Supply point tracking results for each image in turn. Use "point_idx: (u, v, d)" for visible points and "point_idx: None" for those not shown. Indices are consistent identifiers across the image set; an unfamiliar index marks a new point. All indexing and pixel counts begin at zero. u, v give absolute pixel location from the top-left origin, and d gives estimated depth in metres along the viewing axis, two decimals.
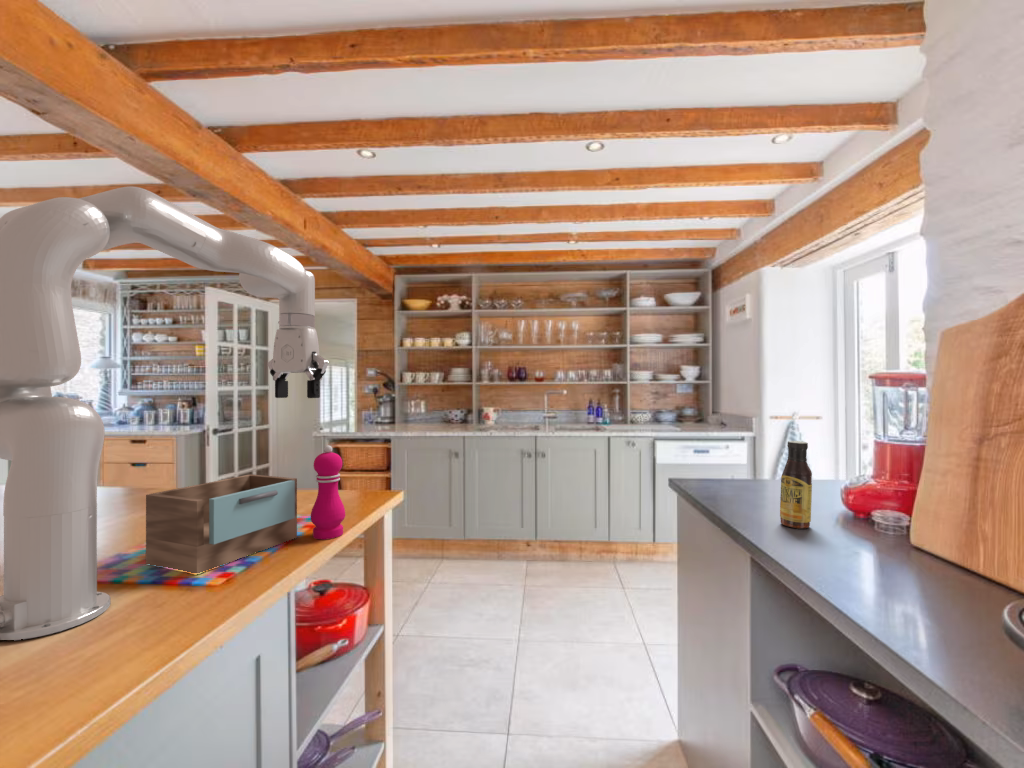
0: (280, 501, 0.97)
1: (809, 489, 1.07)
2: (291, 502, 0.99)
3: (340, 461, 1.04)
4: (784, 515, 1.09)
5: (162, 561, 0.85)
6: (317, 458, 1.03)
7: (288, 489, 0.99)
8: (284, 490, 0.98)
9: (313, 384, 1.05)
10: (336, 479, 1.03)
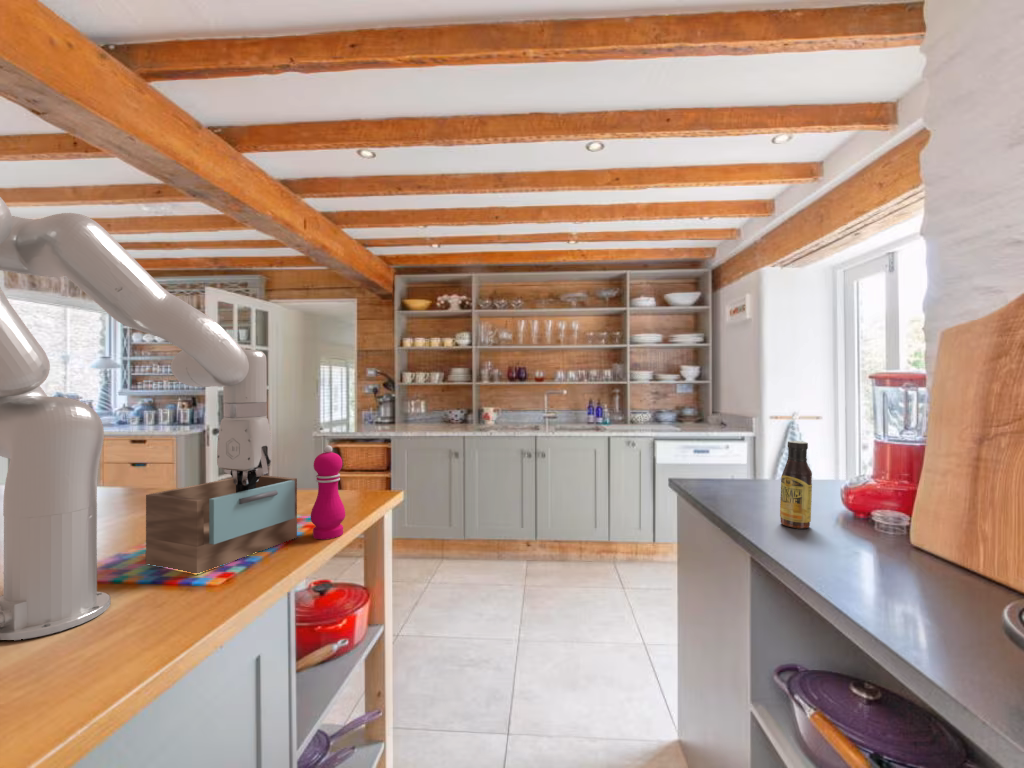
0: (280, 501, 0.97)
1: (809, 489, 1.07)
2: (291, 502, 0.99)
3: (340, 461, 1.04)
4: (784, 515, 1.09)
5: (162, 561, 0.85)
6: (317, 458, 1.03)
7: (288, 489, 0.99)
8: (284, 490, 0.98)
9: (247, 489, 0.92)
10: (336, 479, 1.03)
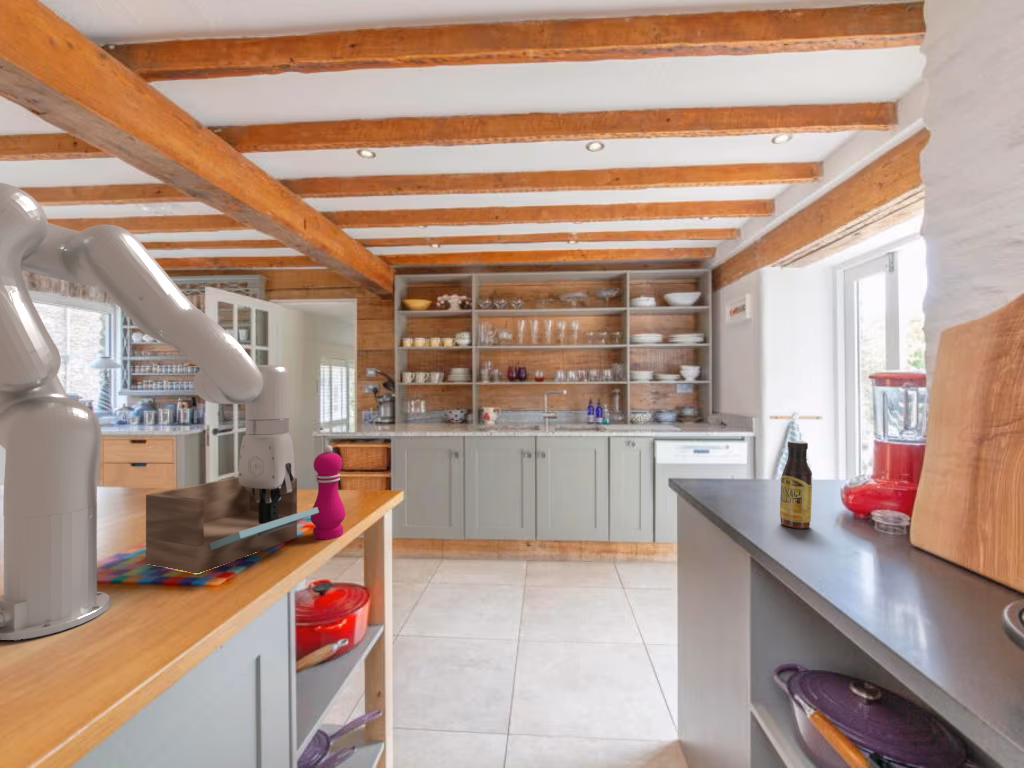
0: None
1: (809, 489, 1.07)
2: (300, 519, 0.98)
3: (340, 461, 1.04)
4: (784, 515, 1.09)
5: (162, 561, 0.85)
6: (317, 458, 1.03)
7: (307, 516, 0.97)
8: (303, 517, 0.96)
9: (269, 507, 0.90)
10: (336, 479, 1.03)
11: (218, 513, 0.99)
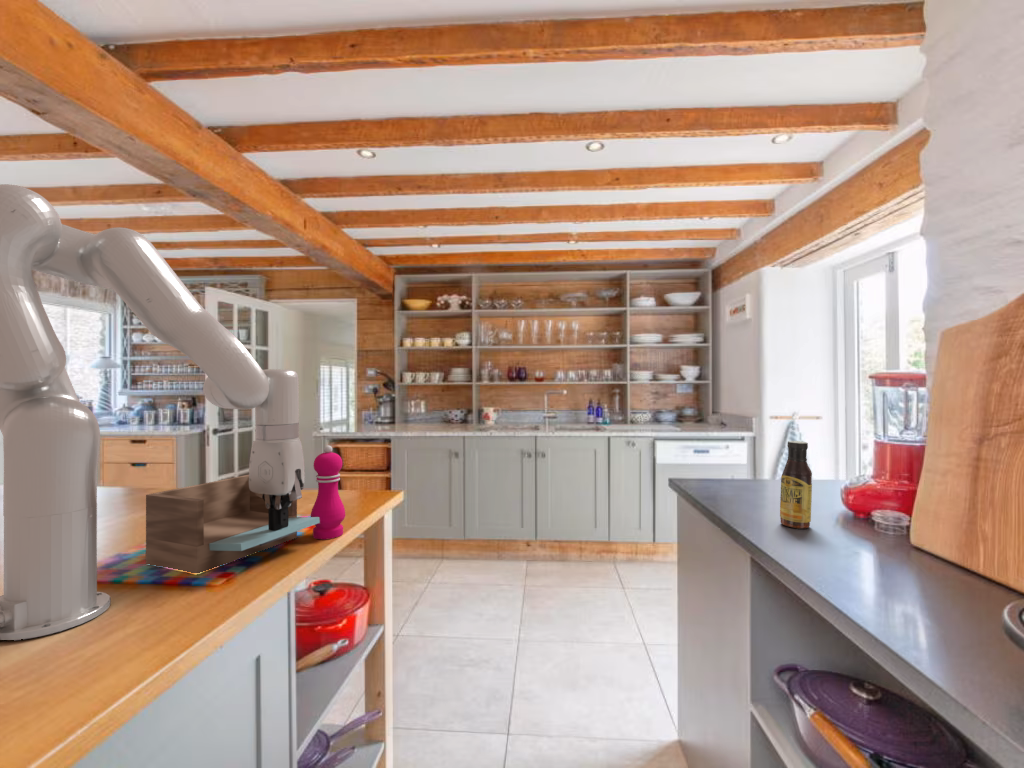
0: None
1: (809, 489, 1.07)
2: None
3: (340, 461, 1.04)
4: (784, 515, 1.09)
5: (162, 561, 0.85)
6: (317, 458, 1.03)
7: None
8: None
9: (279, 514, 0.89)
10: (336, 479, 1.03)
11: (218, 513, 0.99)
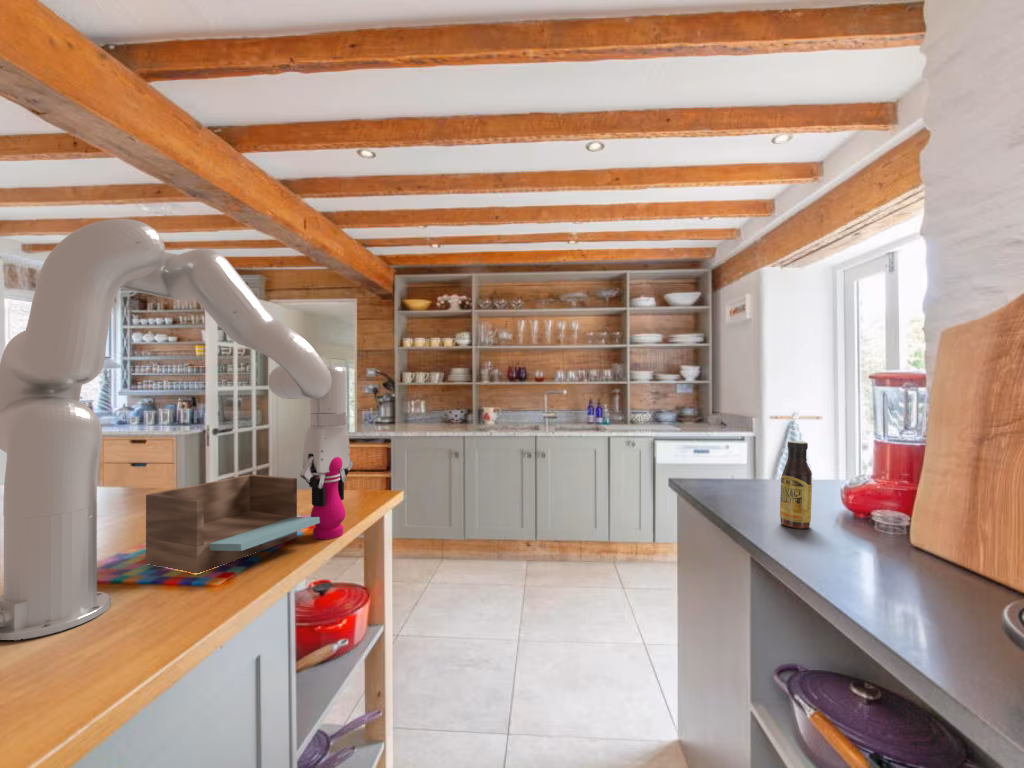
0: None
1: (809, 489, 1.07)
2: None
3: (340, 461, 1.04)
4: (784, 515, 1.09)
5: (162, 561, 0.85)
6: None
7: None
8: None
9: None
10: (336, 479, 1.03)
11: (218, 513, 0.99)
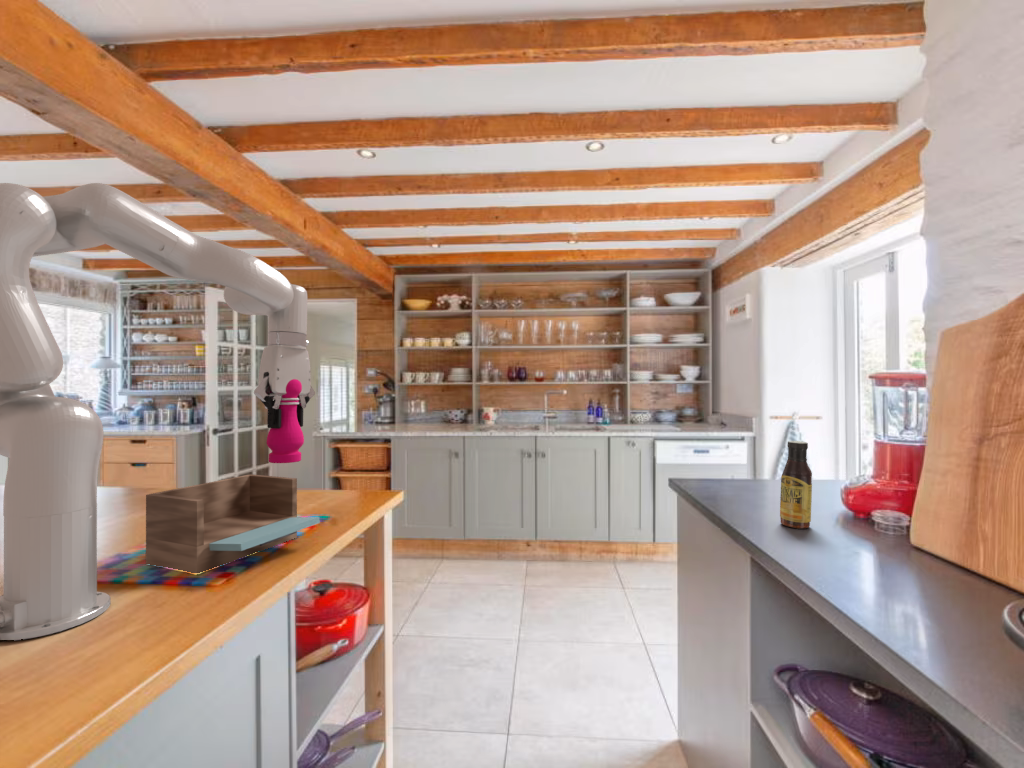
0: None
1: (809, 489, 1.07)
2: None
3: (299, 384, 1.00)
4: (784, 515, 1.09)
5: (162, 561, 0.85)
6: None
7: None
8: None
9: None
10: (294, 402, 0.99)
11: (218, 513, 0.99)
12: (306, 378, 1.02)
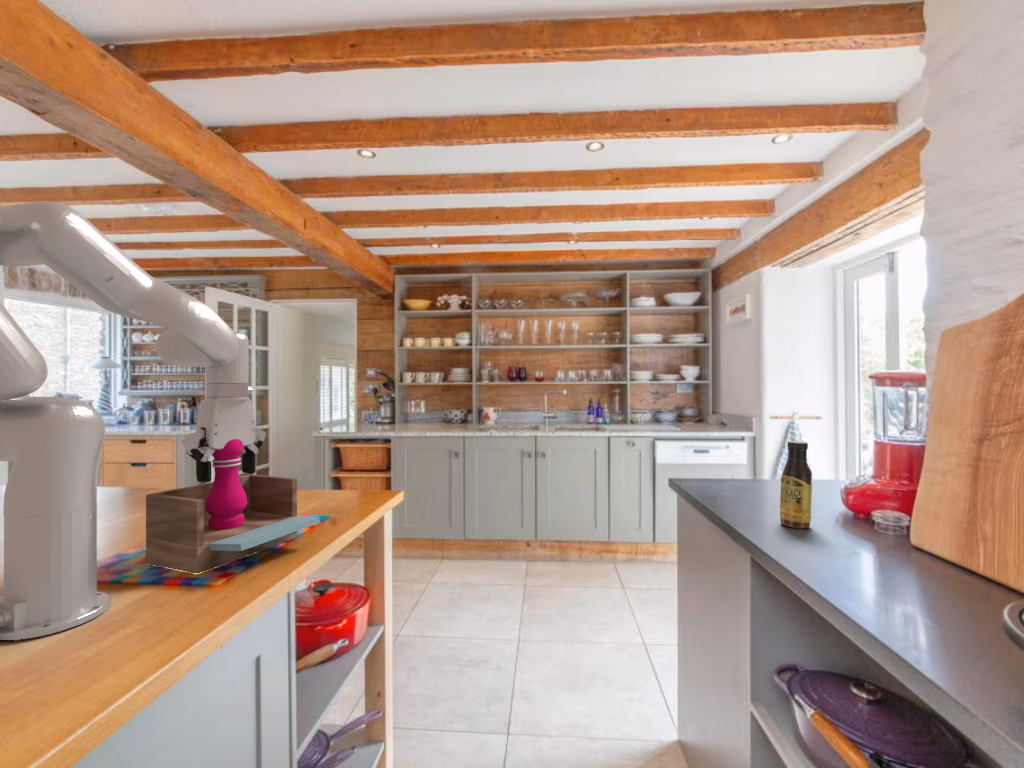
0: None
1: (809, 489, 1.07)
2: None
3: (239, 444, 0.94)
4: (784, 515, 1.09)
5: (162, 561, 0.85)
6: None
7: None
8: None
9: None
10: (234, 464, 0.94)
11: None
12: (249, 429, 0.97)
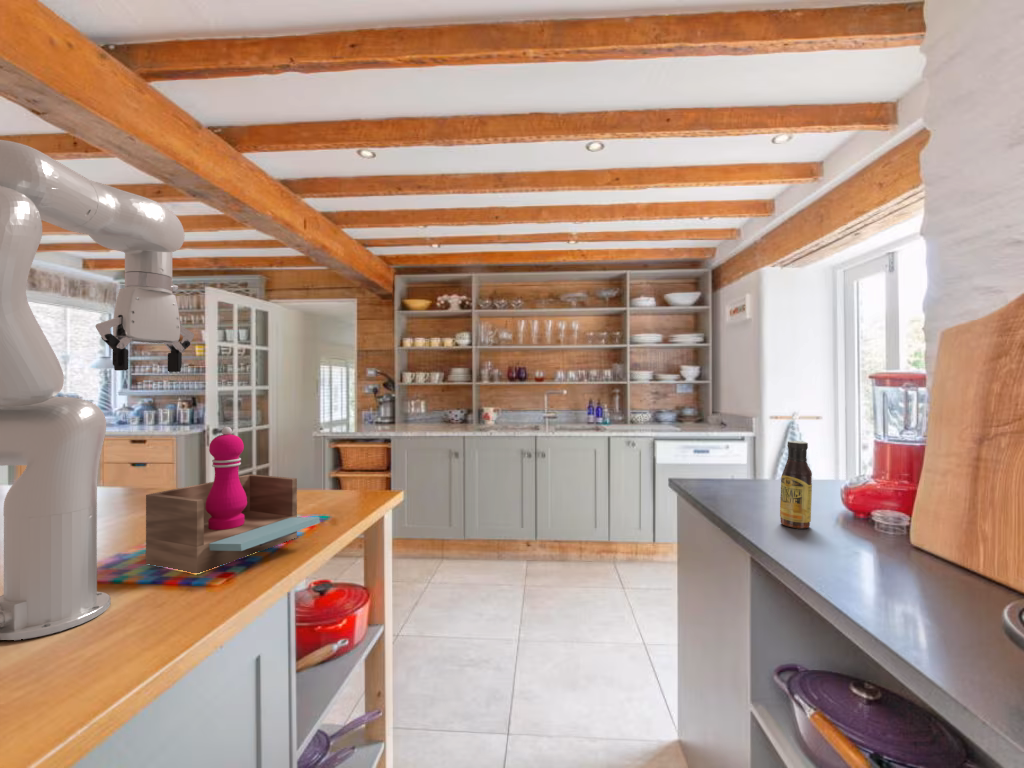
0: None
1: (809, 489, 1.07)
2: None
3: (239, 444, 0.94)
4: (784, 515, 1.09)
5: (162, 561, 0.85)
6: (212, 440, 0.93)
7: None
8: None
9: None
10: (234, 464, 0.94)
11: None
12: (173, 324, 0.96)
